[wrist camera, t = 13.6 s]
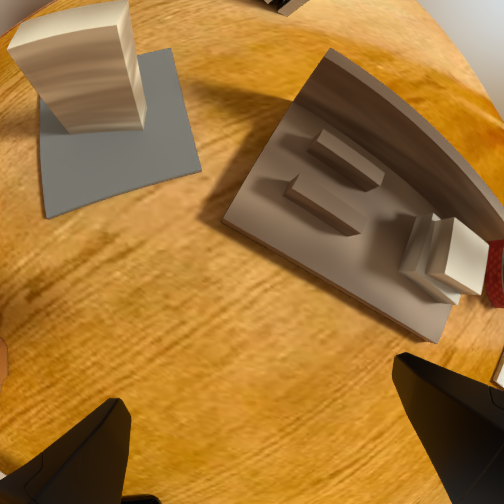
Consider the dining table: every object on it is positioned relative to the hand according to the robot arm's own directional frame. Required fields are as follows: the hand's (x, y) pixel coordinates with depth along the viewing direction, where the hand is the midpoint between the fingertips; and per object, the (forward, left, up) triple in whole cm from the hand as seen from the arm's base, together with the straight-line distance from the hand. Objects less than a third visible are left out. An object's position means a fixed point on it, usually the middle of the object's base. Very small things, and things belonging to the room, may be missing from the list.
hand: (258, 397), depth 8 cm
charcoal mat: (-4, +17, -12) cm, 21 cm away
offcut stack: (+18, -1, -11) cm, 21 cm away
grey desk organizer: (+14, +4, -12) cm, 19 cm away
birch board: (-4, +17, -12) cm, 21 cm away
